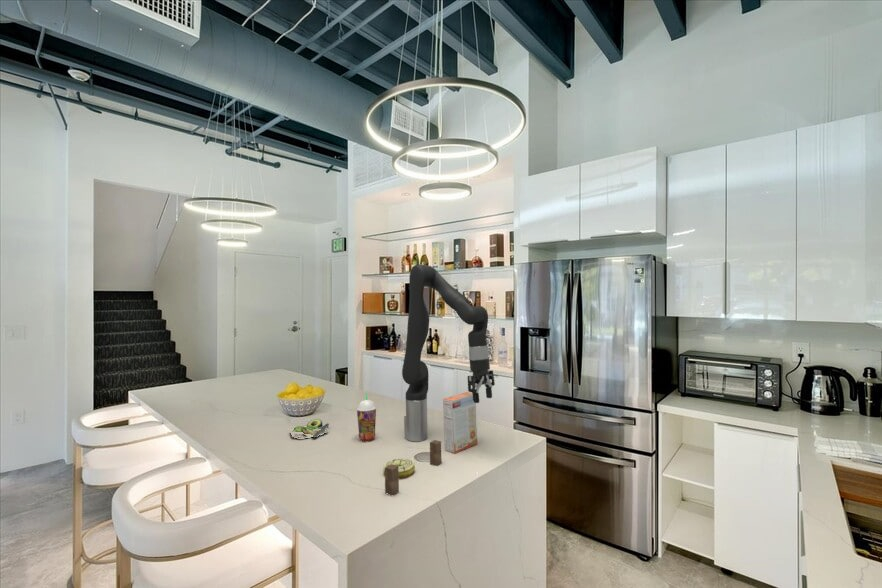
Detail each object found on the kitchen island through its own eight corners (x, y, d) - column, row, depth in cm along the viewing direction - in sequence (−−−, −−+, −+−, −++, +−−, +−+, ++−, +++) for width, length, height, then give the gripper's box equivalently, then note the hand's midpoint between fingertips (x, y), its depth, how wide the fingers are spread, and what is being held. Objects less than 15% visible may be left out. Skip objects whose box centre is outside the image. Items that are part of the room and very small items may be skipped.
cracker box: (466, 441, 169) (465, 391, 169) (477, 444, 165) (476, 393, 165) (443, 450, 159) (442, 397, 160) (454, 454, 155) (453, 400, 155)
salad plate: (333, 438, 178) (333, 427, 178) (290, 444, 171) (290, 433, 171) (328, 425, 195) (328, 416, 195) (289, 431, 188) (289, 421, 188)
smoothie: (360, 444, 168) (359, 396, 168) (355, 438, 175) (354, 392, 176) (379, 440, 172) (378, 394, 172) (373, 435, 179) (372, 390, 179)
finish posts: (385, 493, 125) (384, 467, 125) (434, 461, 149) (434, 439, 149) (392, 495, 123) (392, 469, 123) (441, 463, 147) (441, 441, 147)
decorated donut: (391, 465, 146) (391, 455, 146) (419, 468, 143) (418, 458, 143) (378, 477, 137) (378, 466, 137) (407, 481, 133) (407, 470, 133)
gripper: (481, 355, 162) (485, 396, 161) (460, 360, 151) (464, 403, 150) (497, 355, 157) (501, 397, 156) (476, 360, 146) (480, 405, 145)
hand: (483, 400), depth 153 cm, fingers open, 8 cm apart
